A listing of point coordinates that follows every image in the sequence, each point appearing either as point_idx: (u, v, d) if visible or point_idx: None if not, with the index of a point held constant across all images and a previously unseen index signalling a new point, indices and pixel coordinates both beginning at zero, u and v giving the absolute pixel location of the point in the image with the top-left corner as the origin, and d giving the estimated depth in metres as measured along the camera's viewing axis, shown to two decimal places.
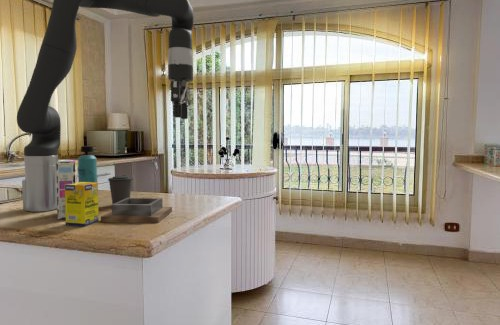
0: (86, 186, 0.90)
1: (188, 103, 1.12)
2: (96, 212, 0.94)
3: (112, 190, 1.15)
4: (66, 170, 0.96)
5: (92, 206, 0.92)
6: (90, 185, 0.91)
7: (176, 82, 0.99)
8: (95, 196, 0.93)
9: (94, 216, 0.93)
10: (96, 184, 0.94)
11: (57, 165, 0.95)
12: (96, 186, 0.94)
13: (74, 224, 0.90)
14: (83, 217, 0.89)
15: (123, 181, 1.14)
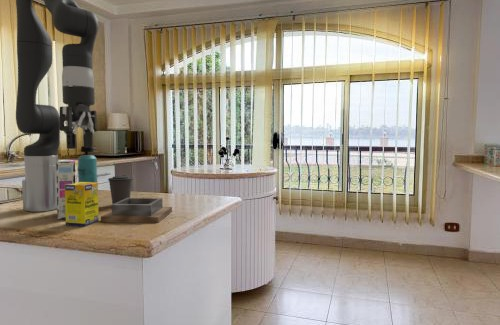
0: (86, 186, 0.90)
1: (94, 129, 0.97)
2: (96, 212, 0.94)
3: (112, 190, 1.15)
4: (66, 170, 0.96)
5: (92, 206, 0.92)
6: (90, 185, 0.91)
7: (66, 108, 0.84)
8: (95, 196, 0.93)
9: (94, 216, 0.93)
10: (96, 184, 0.94)
11: (57, 165, 0.95)
12: (96, 186, 0.94)
13: (74, 224, 0.90)
14: (83, 217, 0.89)
15: (123, 181, 1.14)
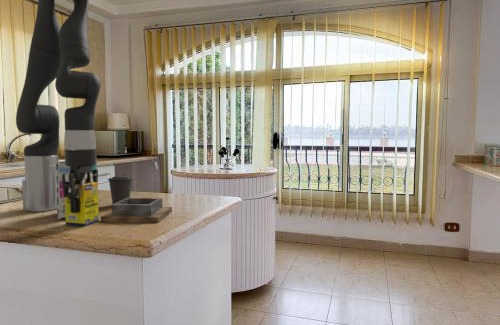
0: (86, 186, 0.90)
1: None
2: (96, 212, 0.94)
3: (112, 190, 1.15)
4: (66, 170, 0.96)
5: (92, 206, 0.92)
6: (90, 185, 0.91)
7: (68, 176, 0.85)
8: (95, 196, 0.93)
9: (94, 215, 0.93)
10: (96, 184, 0.94)
11: (57, 165, 0.95)
12: (96, 186, 0.94)
13: (74, 224, 0.90)
14: (83, 217, 0.89)
15: (123, 181, 1.14)
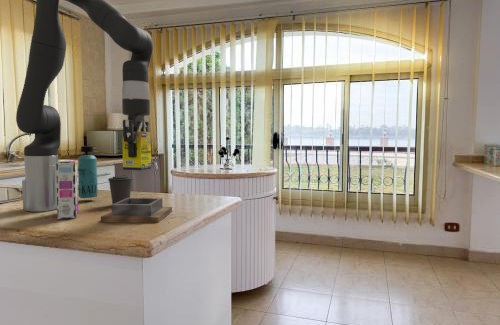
0: (142, 133, 0.97)
1: None
2: (149, 159, 1.01)
3: (112, 190, 1.15)
4: (66, 170, 0.96)
5: (146, 153, 1.00)
6: (145, 133, 0.99)
7: (128, 121, 0.92)
8: (149, 145, 1.01)
9: (148, 162, 1.00)
10: (149, 133, 1.01)
11: (57, 165, 0.95)
12: (149, 135, 1.01)
13: (131, 168, 0.97)
14: (140, 162, 0.97)
15: (123, 181, 1.14)
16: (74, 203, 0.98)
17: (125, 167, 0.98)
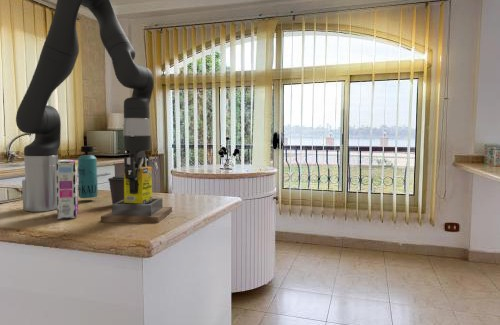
0: (143, 169, 0.98)
1: None
2: (150, 194, 1.02)
3: (112, 190, 1.15)
4: (66, 170, 0.96)
5: (147, 188, 1.00)
6: (146, 168, 0.99)
7: (130, 160, 0.93)
8: (150, 179, 1.02)
9: (149, 197, 1.01)
10: (150, 168, 1.02)
11: (57, 165, 0.95)
12: (150, 170, 1.02)
13: None
14: (141, 198, 0.98)
15: (123, 181, 1.14)
16: (74, 203, 0.98)
17: (126, 203, 0.99)
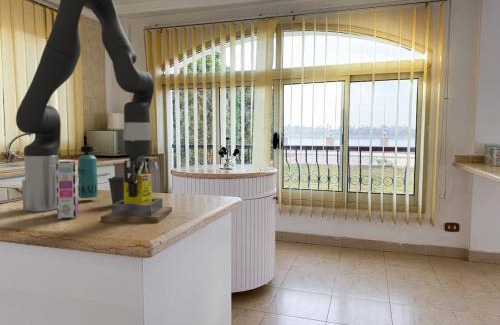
0: (143, 176, 0.98)
1: None
2: (150, 201, 1.03)
3: (112, 190, 1.15)
4: (66, 170, 0.96)
5: (147, 195, 1.01)
6: (146, 176, 1.00)
7: (130, 162, 0.93)
8: (149, 186, 1.02)
9: None
10: (150, 175, 1.02)
11: (57, 165, 0.95)
12: (150, 177, 1.02)
13: None
14: None
15: (123, 181, 1.14)
16: (74, 203, 0.98)
17: None
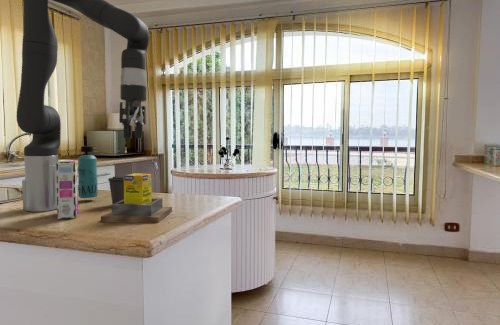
0: (143, 176, 0.98)
1: (144, 122, 1.12)
2: (150, 201, 1.03)
3: (112, 190, 1.15)
4: (66, 170, 0.96)
5: (147, 195, 1.01)
6: (146, 176, 1.00)
7: (125, 103, 0.99)
8: (149, 186, 1.02)
9: None
10: (150, 175, 1.02)
11: (57, 165, 0.95)
12: (150, 177, 1.02)
13: None
14: None
15: (123, 181, 1.14)
16: (74, 203, 0.98)
17: None
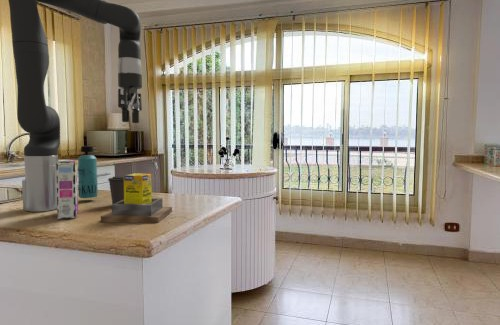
0: (143, 176, 0.98)
1: (140, 108, 1.21)
2: (150, 201, 1.03)
3: (112, 190, 1.15)
4: (66, 170, 0.96)
5: (147, 195, 1.01)
6: (146, 176, 1.00)
7: (123, 90, 1.08)
8: (149, 186, 1.02)
9: None
10: (150, 175, 1.02)
11: (57, 165, 0.95)
12: (150, 177, 1.02)
13: None
14: None
15: (123, 181, 1.14)
16: (74, 203, 0.98)
17: None
